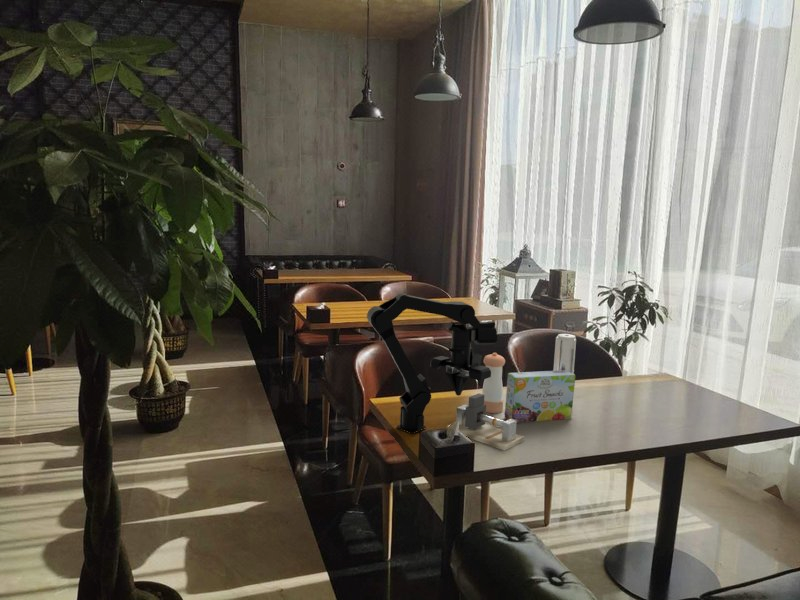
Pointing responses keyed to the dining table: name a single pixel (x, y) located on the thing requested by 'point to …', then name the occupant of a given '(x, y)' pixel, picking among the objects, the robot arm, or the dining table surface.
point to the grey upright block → (475, 411)
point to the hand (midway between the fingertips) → (458, 395)
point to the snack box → (539, 396)
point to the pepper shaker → (493, 384)
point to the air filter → (565, 352)
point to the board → (490, 436)
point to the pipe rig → (506, 426)
